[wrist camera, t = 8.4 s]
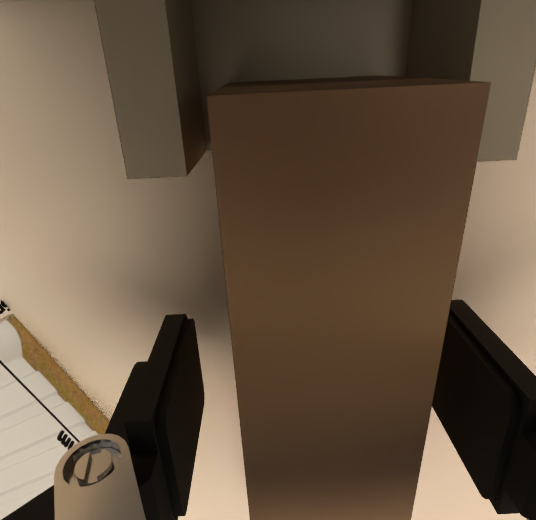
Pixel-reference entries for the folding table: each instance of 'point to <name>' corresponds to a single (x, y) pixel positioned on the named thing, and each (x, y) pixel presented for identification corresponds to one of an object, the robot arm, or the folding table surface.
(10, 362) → the grey flat board
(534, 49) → the panel
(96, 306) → the folding table surface
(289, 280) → the rail
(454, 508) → the folding table surface
